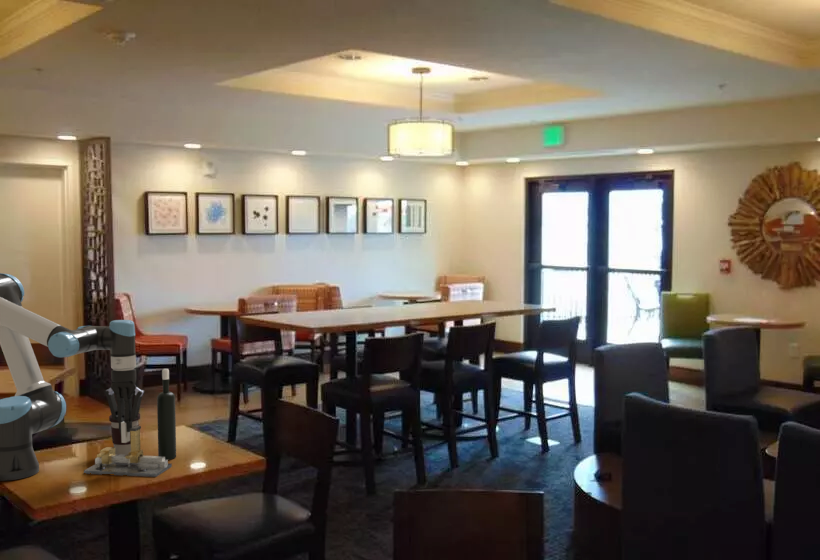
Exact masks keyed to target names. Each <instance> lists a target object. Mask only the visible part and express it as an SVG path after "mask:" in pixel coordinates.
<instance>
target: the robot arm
mask: <svg viewBox="0 0 820 560" xmlns="http://www.w3.org/2000/svg"><path fill="white" fill-rule="evenodd" d="M24 297H25V288H24V285H23V284H22V282H21V280H19V279H18V278H17V277H16V276H14V275H13V274H10V273H4V272H3V273H1V272H0V348H1V351H2V352H3V356H4V359H5V361H6V364H7V367H8V369H9V372H10V375H11V378H12V380H13V383H14V386H15V389H16V392H15V394H14V396H10V397H5V398H4V397H3V398H0V482H1V481H2V482H4V481H15V480H21V479H26V478H29V477H33V476H34V475H36V474H38V473H39V472H40V464H39V461H38V459H37V456H36V452H35V451H34V450H35V449H34V448H33V435H34V434H37V433H40V432H42V431H45V430H49V429H52V428H54V427H55V426H56V425H58V424H60V423H61V422H62V421H63V419H64V417H65V416H66V412H67V403H66V400H65V398H64V396H63V395H62V393H59V392H58V391H55V390H54V389H53V387H52V386H53V385H52V383H50V382H47V381H45V380H44V377H43V374H42V371H41V369H40V366H39V362H38V360H37V357H36V354H35V352H34V349H33V347H32V344H31V341H30V340H33V341H35V342H37V343H39V344H41V345H43V346H45V347H48V350H49V352H50V353H51V354H52V356H54V357H56V358H69V357H72V356H76V355H80V354H83V353H87V352H92V351H97V350H98V351H100V350H101V351H103V350H105V351H110V352H109V353H110V367H111V369H112V370H111V371H110V375H111V385H110V387H109V388H108V389H106V390H103V394H104V395H105V396H106V399H107V403H108V407H109V411H110V415H112V419H113V420H117V421H118V422H119V432H121V439H122V443H127V442H128V441H130V428H132V421H133V420H135V419H137V418H138V414H140V409H141V403H142V399H143V397H144V395H145V393H146V391H145V390H144V389H140V388H139V386H138V383H137V369H136V367H137V355H136V354H137V353H136V327H135V322H134V321H133V320H131V319H115V320H111V321H110V322H109V326H104V325H103V326H99V325H82V326H81V325H80V326H78V327H77V328H76V329H70V328H67V327H65V326H63V325H62V324H60V323H59V324H58V323H57V322H55V321H53V320H50V319H48V318H46V317H44V316H41V315H40V314H38V313H36V312H33V311H31V310H29V309H27V308H25V307H23V305H22V302H23V300H24ZM134 395H135V397H133V396H134ZM133 398H134V399H133ZM133 400H134V401H133ZM124 420H125V421H124Z"/></svg>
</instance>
